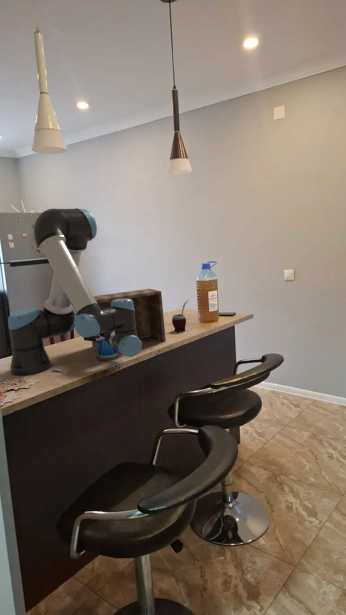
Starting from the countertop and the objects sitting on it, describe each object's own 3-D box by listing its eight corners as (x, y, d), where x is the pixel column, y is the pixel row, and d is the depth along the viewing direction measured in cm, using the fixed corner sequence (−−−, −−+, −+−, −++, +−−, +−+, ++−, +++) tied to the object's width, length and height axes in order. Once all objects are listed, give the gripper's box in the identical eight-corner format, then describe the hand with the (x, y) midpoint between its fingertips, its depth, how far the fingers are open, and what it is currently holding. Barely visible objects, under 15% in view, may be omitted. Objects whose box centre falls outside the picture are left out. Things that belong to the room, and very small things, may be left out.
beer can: (99, 354, 173) (94, 316, 170) (119, 352, 174) (115, 314, 171) (97, 359, 165) (93, 320, 162) (118, 357, 166) (114, 318, 163)
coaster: (99, 362, 163) (99, 361, 163) (93, 357, 172) (93, 355, 172) (123, 357, 167) (123, 356, 167) (116, 352, 176) (116, 351, 176)
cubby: (100, 353, 176) (94, 300, 173) (92, 346, 190) (86, 297, 186) (165, 341, 188) (161, 291, 185) (153, 335, 202) (148, 288, 198)
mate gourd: (170, 332, 206) (167, 302, 204) (178, 328, 213) (175, 300, 211) (183, 332, 203) (180, 302, 200) (190, 329, 209) (188, 300, 207)
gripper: (86, 355, 147) (74, 343, 166) (151, 342, 157) (133, 333, 176) (83, 334, 146) (72, 325, 165) (149, 323, 156) (131, 316, 175)
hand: (103, 329), depth 171 cm, fingers open, 13 cm apart
